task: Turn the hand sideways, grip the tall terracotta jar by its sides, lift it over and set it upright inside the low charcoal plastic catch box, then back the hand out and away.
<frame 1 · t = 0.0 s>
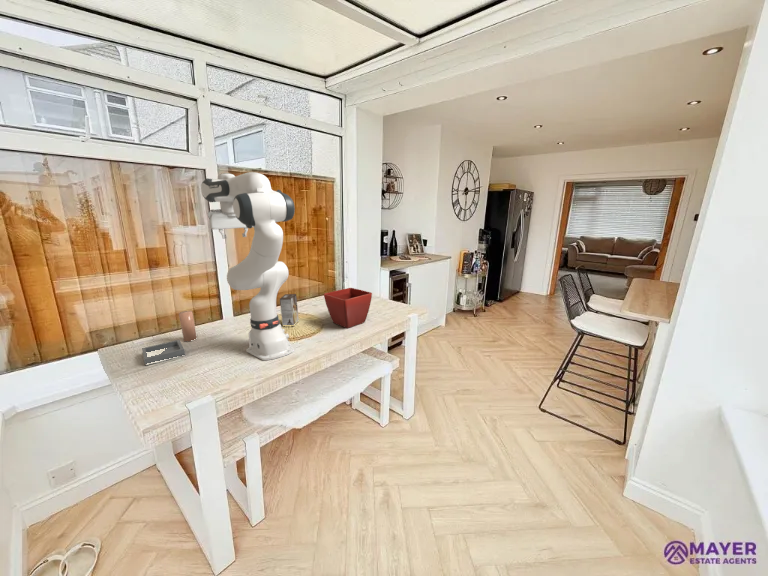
hand: (234, 237, 158), 48 cm above the table, tool pointing down, fingers open, 8 cm apart
coffee box: (291, 324, 174), on the table
catch box: (164, 354, 140), on the table
plant pot: (349, 323, 174), on the table
terracotta jar: (190, 339, 156), on the table
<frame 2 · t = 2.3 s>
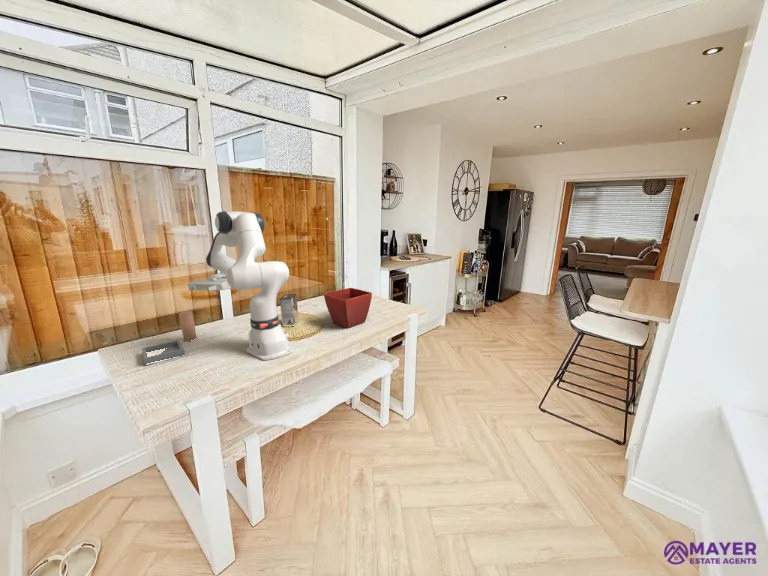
hand: (199, 289, 162), 22 cm above the table, tool horizontal, fingers open, 8 cm apart
nothing on the table moved.
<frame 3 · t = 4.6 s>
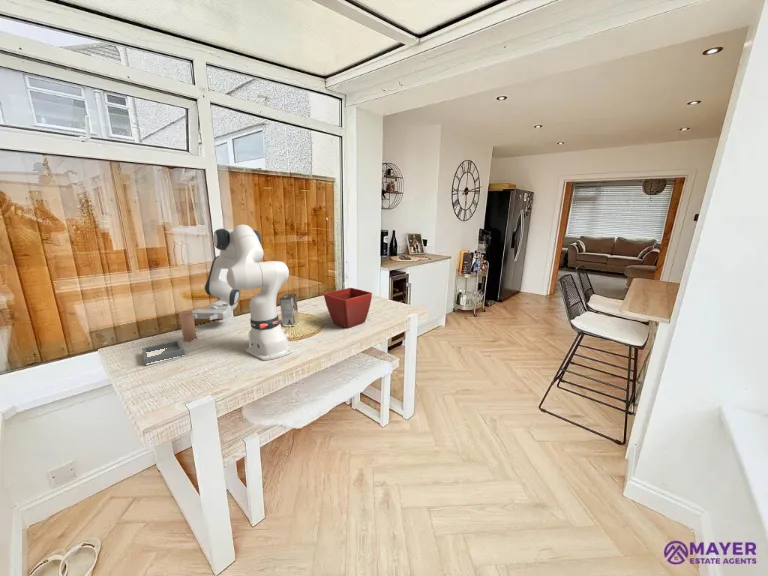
hand: (200, 318, 163), 8 cm above the table, tool horizontal, fingers open, 8 cm apart
nothing on the table moved.
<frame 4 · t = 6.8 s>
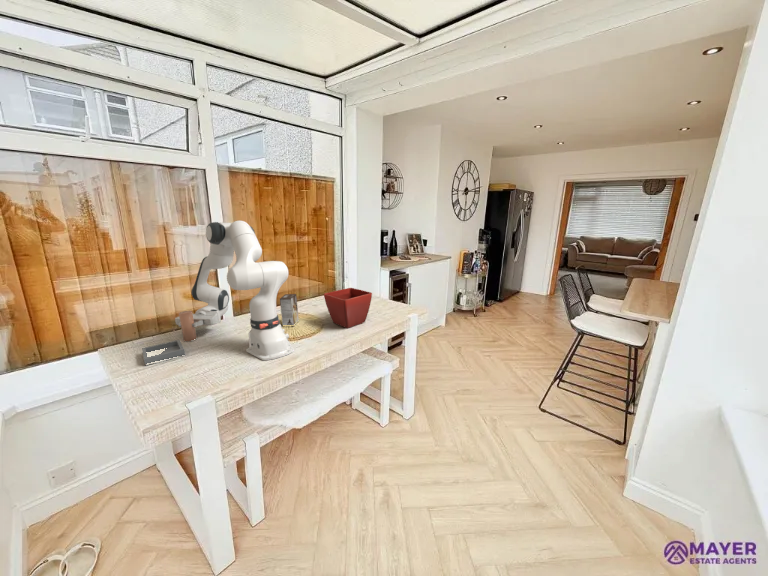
hand: (186, 325, 153), 8 cm above the table, tool horizontal, fingers closed on terracotta jar, 5 cm apart
terracotta jar: (190, 339, 156), on the table, touching gripper
everything else where it was.
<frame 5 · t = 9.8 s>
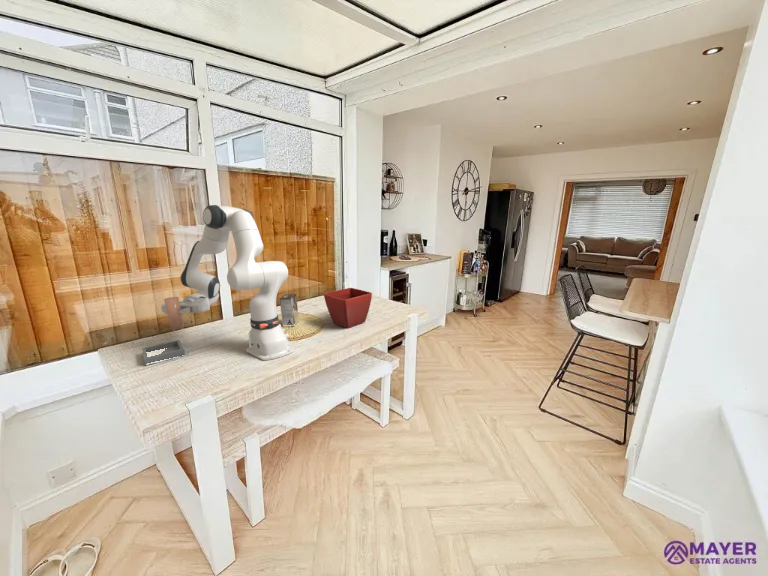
hand: (172, 312, 145), 17 cm above the table, tool horizontal, fingers closed on terracotta jar, 5 cm apart
terracotta jar: (177, 327, 147), point 9 cm above the table, touching gripper
everything else where it was.
when the fingers open (10 cm above the table, at t = 12.9 s): terracotta jar drops 1 cm, resting on catch box.
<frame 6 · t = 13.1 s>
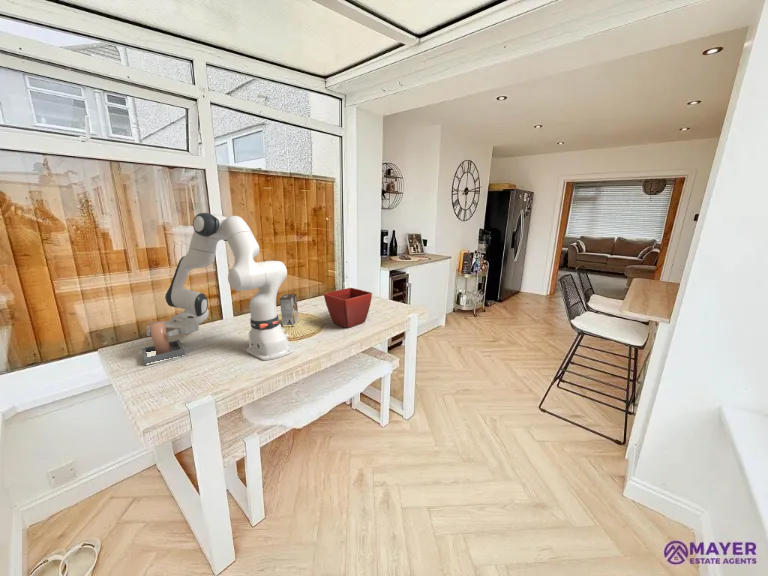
hand: (158, 334, 137), 10 cm above the table, tool horizontal, fingers open, 8 cm apart
terracotta jar: (163, 353, 140), point 1 cm above the table, touching catch box
everything else where it was.
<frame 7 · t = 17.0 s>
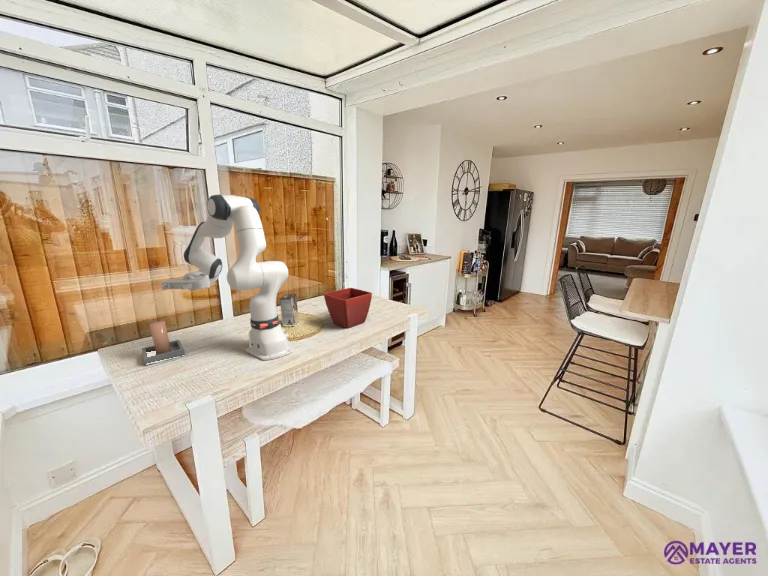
hand: (172, 287, 145), 27 cm above the table, tool horizontal, fingers open, 8 cm apart
nothing on the table moved.
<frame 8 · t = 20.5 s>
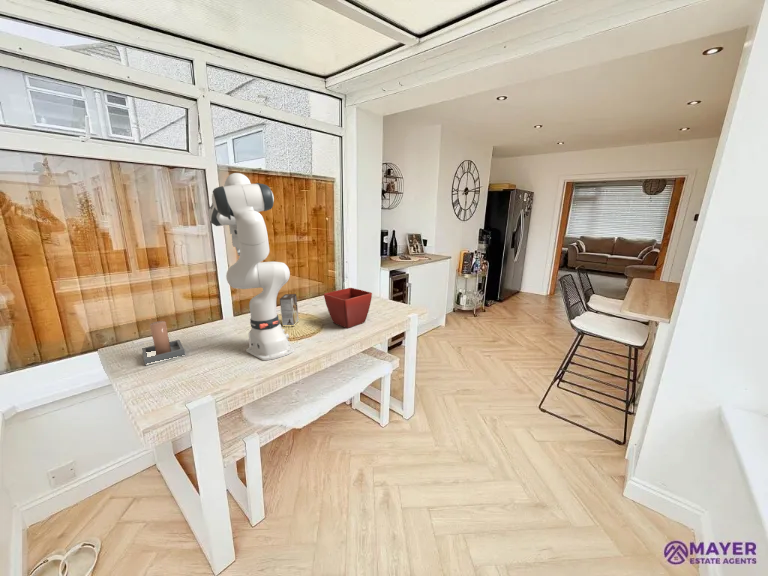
hand: (242, 256, 171), 37 cm above the table, tool pointing down, fingers open, 8 cm apart
nothing on the table moved.
at the end: terracotta jar inside the target area on the catch box (0.0 cm from its centre), point 0.8 cm above the catch box's base; terracotta jar tilted 1°; the gripper is holding nothing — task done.
